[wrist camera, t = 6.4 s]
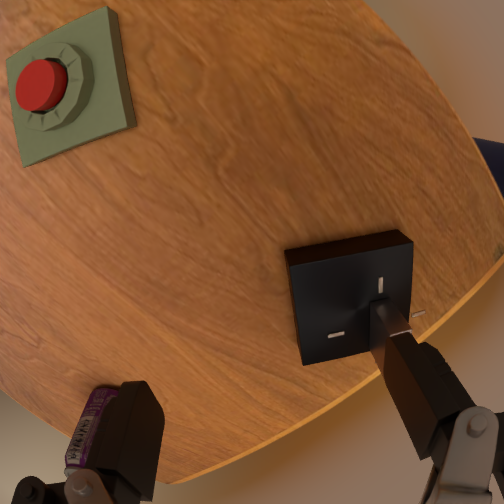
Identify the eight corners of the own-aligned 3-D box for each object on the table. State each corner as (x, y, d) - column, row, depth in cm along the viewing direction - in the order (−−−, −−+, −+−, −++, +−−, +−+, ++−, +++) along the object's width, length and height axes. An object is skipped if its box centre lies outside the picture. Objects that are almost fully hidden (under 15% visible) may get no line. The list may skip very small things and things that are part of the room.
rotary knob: (370, 301, 24) (391, 337, 20) (389, 297, 24) (414, 331, 20) (368, 347, 26) (386, 384, 22) (387, 343, 26) (406, 378, 22)
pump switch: (117, 13, 18) (97, -2, 14) (137, 126, 21) (117, 127, 18) (20, 61, 18) (-8, 58, 14) (37, 163, 22) (9, 172, 18)
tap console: (413, 225, 25) (431, 239, 22) (407, 331, 30) (419, 350, 27) (283, 250, 26) (288, 267, 23) (299, 357, 30) (304, 379, 27)
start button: (64, 54, 16) (51, 50, 14) (70, 99, 17) (57, 98, 15) (26, 74, 16) (12, 73, 14) (32, 117, 17) (18, 118, 16)
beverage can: (92, 409, 34) (64, 483, 23) (91, 376, 31) (54, 457, 20) (143, 426, 35) (125, 504, 24) (148, 395, 32) (125, 484, 21)
